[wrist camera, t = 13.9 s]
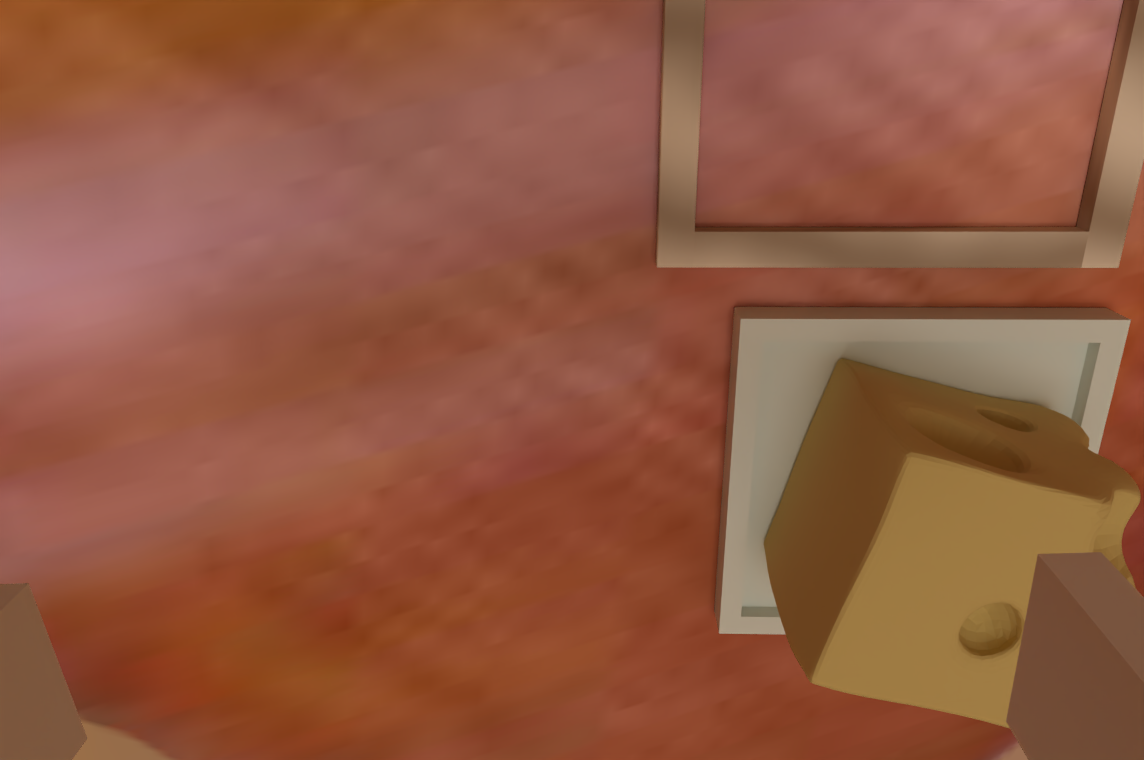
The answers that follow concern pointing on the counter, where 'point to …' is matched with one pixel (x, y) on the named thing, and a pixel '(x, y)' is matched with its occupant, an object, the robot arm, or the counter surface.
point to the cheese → (931, 536)
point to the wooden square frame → (1123, 140)
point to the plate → (898, 344)
